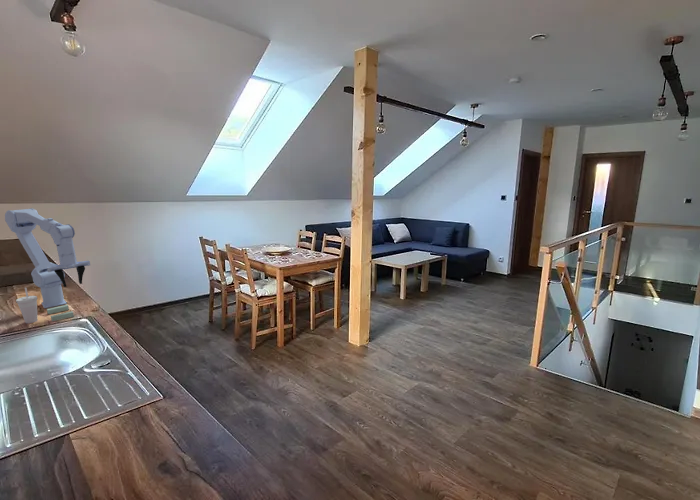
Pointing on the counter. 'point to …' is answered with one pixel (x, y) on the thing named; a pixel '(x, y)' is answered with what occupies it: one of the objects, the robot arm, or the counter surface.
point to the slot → (60, 316)
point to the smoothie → (28, 307)
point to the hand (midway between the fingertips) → (73, 284)
